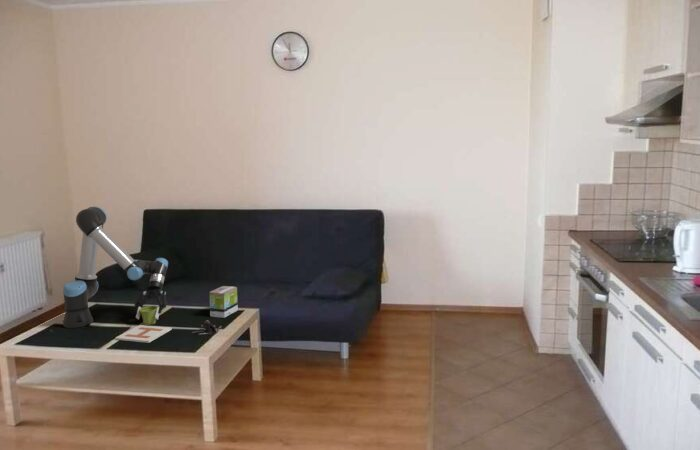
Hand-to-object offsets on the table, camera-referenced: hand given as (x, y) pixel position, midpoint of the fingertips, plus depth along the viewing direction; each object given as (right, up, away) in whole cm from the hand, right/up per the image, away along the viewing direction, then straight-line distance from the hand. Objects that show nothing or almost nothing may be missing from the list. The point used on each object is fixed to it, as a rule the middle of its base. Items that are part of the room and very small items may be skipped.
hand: (146, 318), depth 312 cm
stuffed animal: (+36, -6, -10) cm, 38 cm away
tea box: (+39, 0, +19) cm, 43 cm away
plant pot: (0, -4, +4) cm, 5 cm away
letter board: (+4, -6, -14) cm, 16 cm away
